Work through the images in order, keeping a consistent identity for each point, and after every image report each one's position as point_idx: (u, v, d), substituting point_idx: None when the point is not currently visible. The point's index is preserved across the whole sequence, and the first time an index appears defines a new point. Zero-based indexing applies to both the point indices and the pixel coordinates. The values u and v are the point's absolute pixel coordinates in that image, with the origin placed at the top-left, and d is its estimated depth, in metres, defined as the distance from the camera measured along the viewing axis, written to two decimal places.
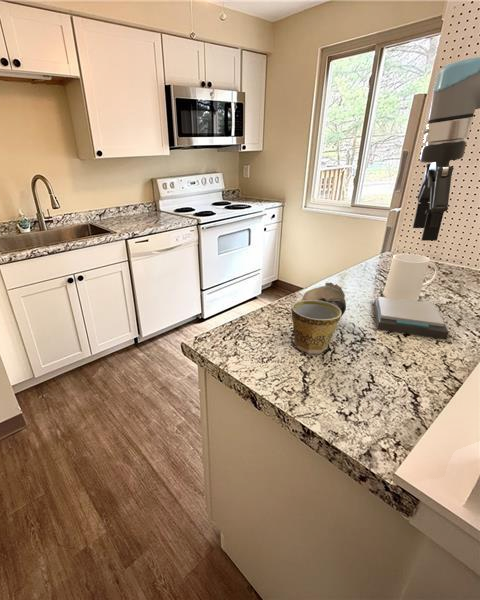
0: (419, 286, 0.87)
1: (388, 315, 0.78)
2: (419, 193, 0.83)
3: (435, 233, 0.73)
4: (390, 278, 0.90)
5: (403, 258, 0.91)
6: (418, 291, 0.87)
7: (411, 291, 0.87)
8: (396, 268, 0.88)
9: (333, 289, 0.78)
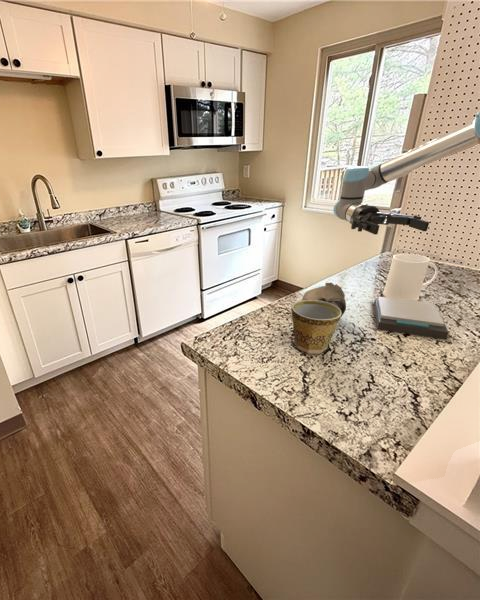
0: (419, 286, 0.87)
1: (388, 315, 0.78)
2: None
3: (373, 226, 0.94)
4: (390, 278, 0.90)
5: (403, 258, 0.91)
6: (418, 291, 0.87)
7: (411, 291, 0.87)
8: (396, 268, 0.88)
9: (333, 289, 0.78)
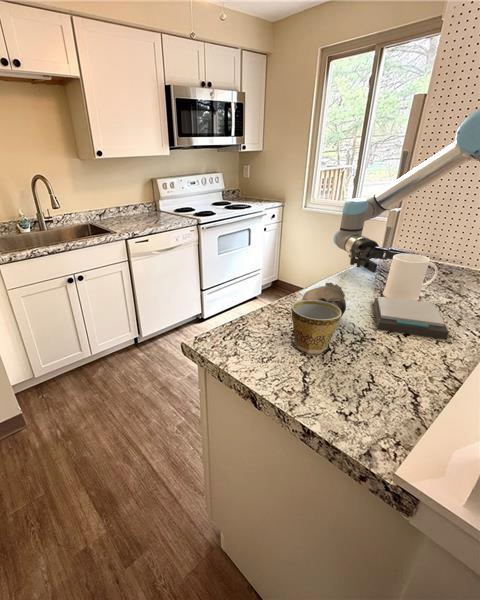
0: (419, 286, 0.87)
1: (388, 315, 0.78)
2: None
3: (371, 264, 0.96)
4: (390, 278, 0.90)
5: (403, 258, 0.91)
6: (418, 291, 0.87)
7: (411, 291, 0.87)
8: (396, 268, 0.88)
9: (333, 289, 0.78)
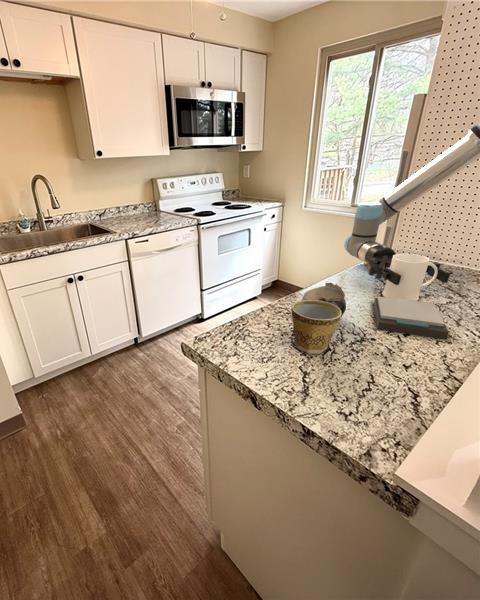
0: (418, 286, 0.87)
1: (388, 315, 0.78)
2: None
3: (393, 275, 0.87)
4: None
5: (403, 258, 0.91)
6: (417, 291, 0.87)
7: (410, 291, 0.87)
8: (395, 268, 0.88)
9: (333, 289, 0.78)
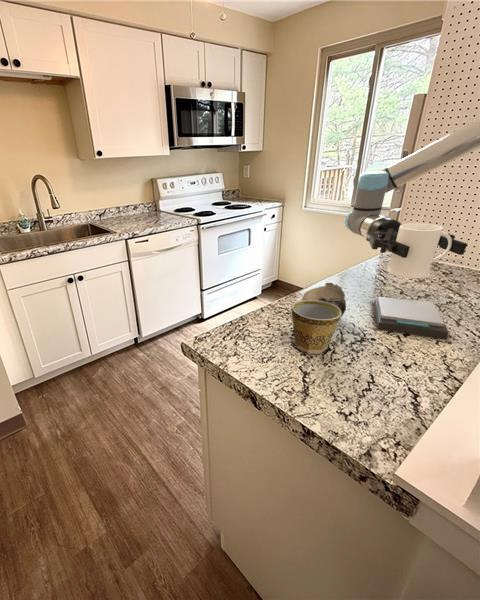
0: (429, 259, 0.75)
1: (388, 315, 0.78)
2: None
3: (401, 247, 0.76)
4: None
5: (411, 229, 0.79)
6: (428, 265, 0.76)
7: (420, 265, 0.76)
8: (403, 239, 0.76)
9: (333, 289, 0.78)
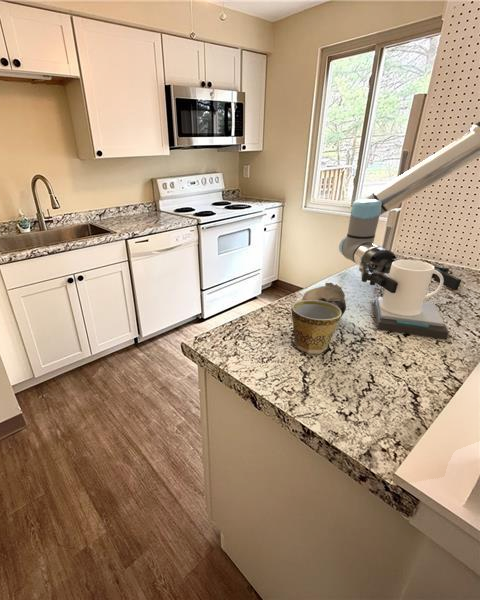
0: (421, 298, 0.75)
1: (388, 315, 0.78)
2: None
3: (389, 282, 0.76)
4: None
5: (403, 265, 0.79)
6: (420, 303, 0.76)
7: (412, 303, 0.75)
8: (395, 277, 0.76)
9: (333, 289, 0.78)
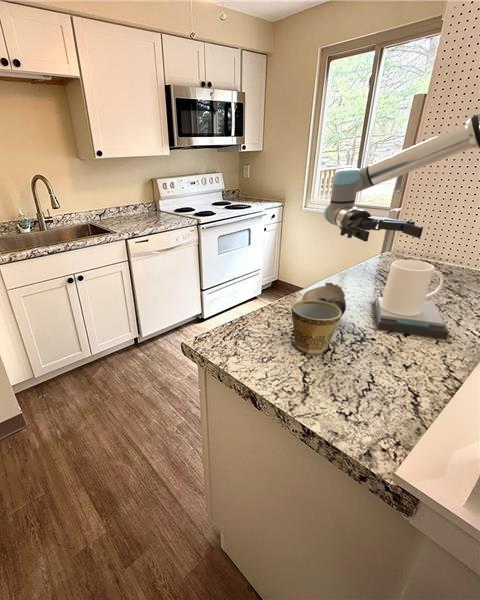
0: (421, 298, 0.75)
1: (388, 315, 0.78)
2: None
3: (362, 232, 0.88)
4: (388, 288, 0.78)
5: (403, 265, 0.79)
6: (420, 303, 0.76)
7: (412, 303, 0.75)
8: (395, 277, 0.76)
9: (333, 289, 0.78)
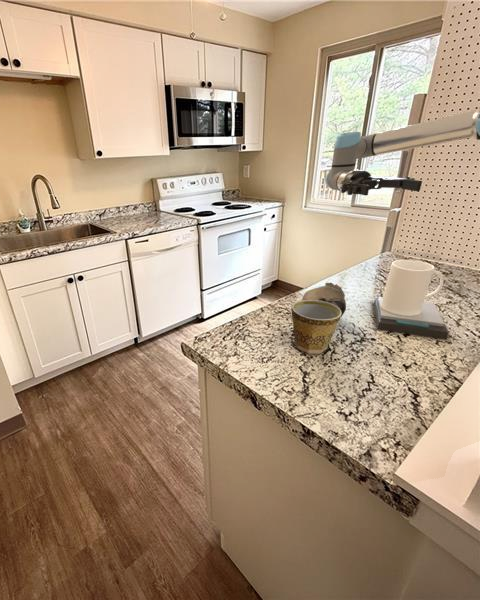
0: (421, 298, 0.75)
1: (388, 315, 0.78)
2: None
3: (363, 187, 0.90)
4: (388, 288, 0.78)
5: (403, 265, 0.79)
6: (420, 303, 0.76)
7: (412, 303, 0.75)
8: (395, 277, 0.76)
9: (333, 289, 0.78)
